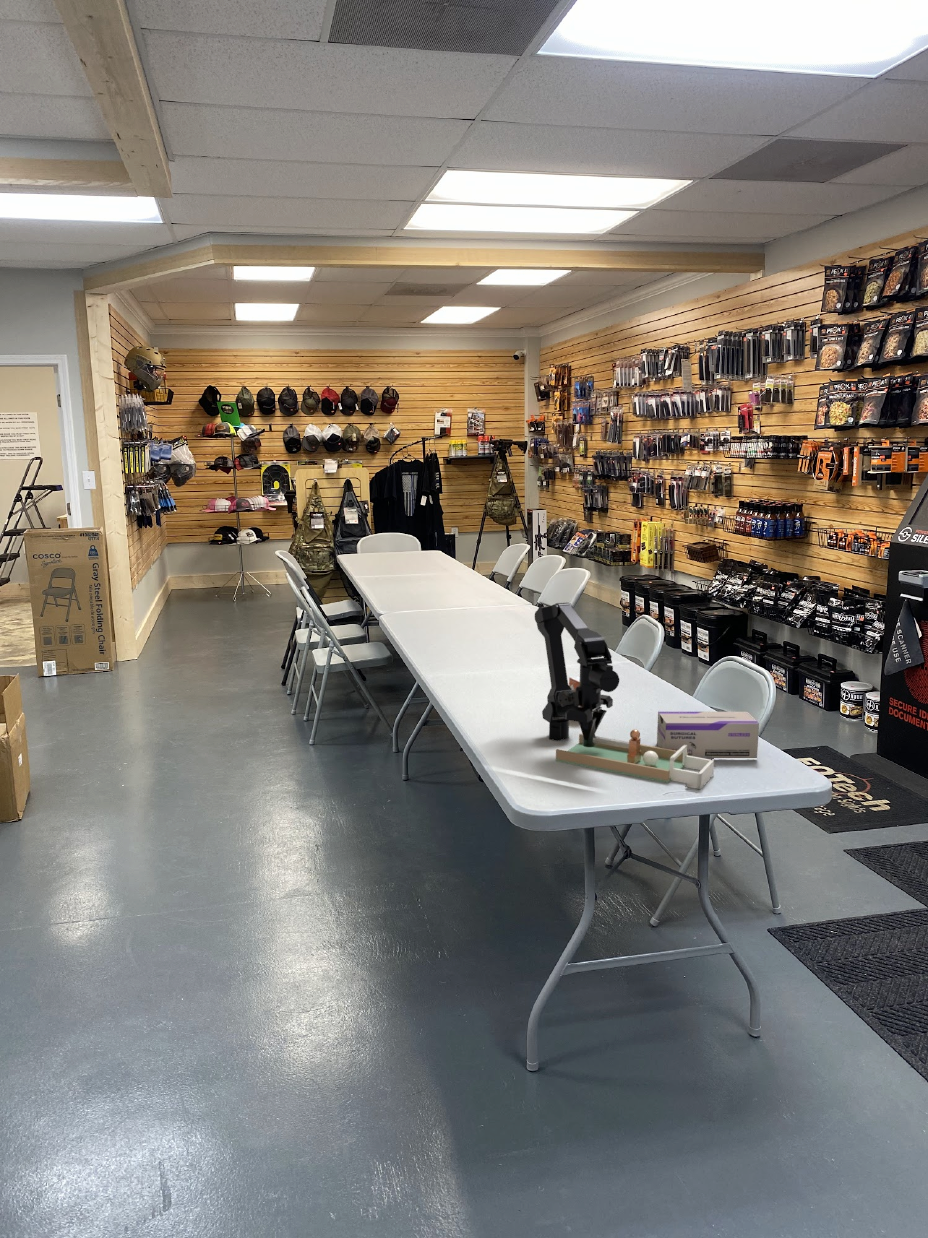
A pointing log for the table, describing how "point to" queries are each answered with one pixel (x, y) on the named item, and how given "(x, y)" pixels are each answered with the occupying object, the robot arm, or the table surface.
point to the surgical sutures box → (709, 733)
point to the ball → (650, 758)
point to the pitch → (621, 760)
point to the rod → (618, 744)
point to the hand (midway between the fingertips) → (588, 738)
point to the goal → (695, 763)
